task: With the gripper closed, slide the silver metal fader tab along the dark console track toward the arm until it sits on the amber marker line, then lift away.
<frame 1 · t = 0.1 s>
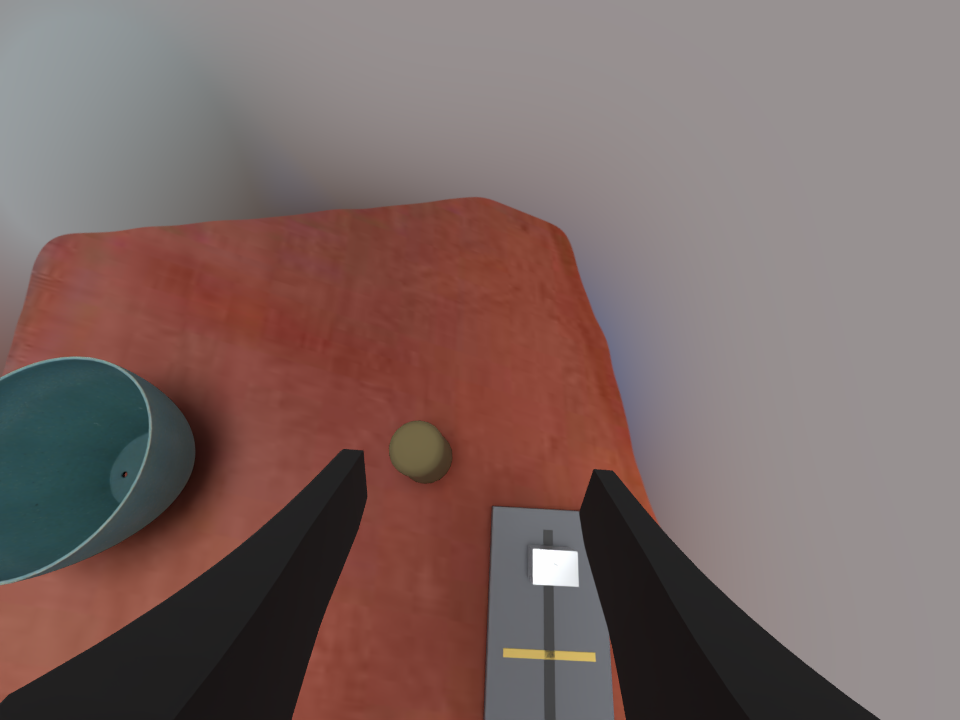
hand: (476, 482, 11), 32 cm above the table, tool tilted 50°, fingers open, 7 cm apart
teal bowl: (155, 467, 41), on the table
console: (544, 611, 37), on the table
fader: (552, 564, 35), point 4 cm above the table, slide at 0.0 cm
cork: (427, 456, 42), on the table
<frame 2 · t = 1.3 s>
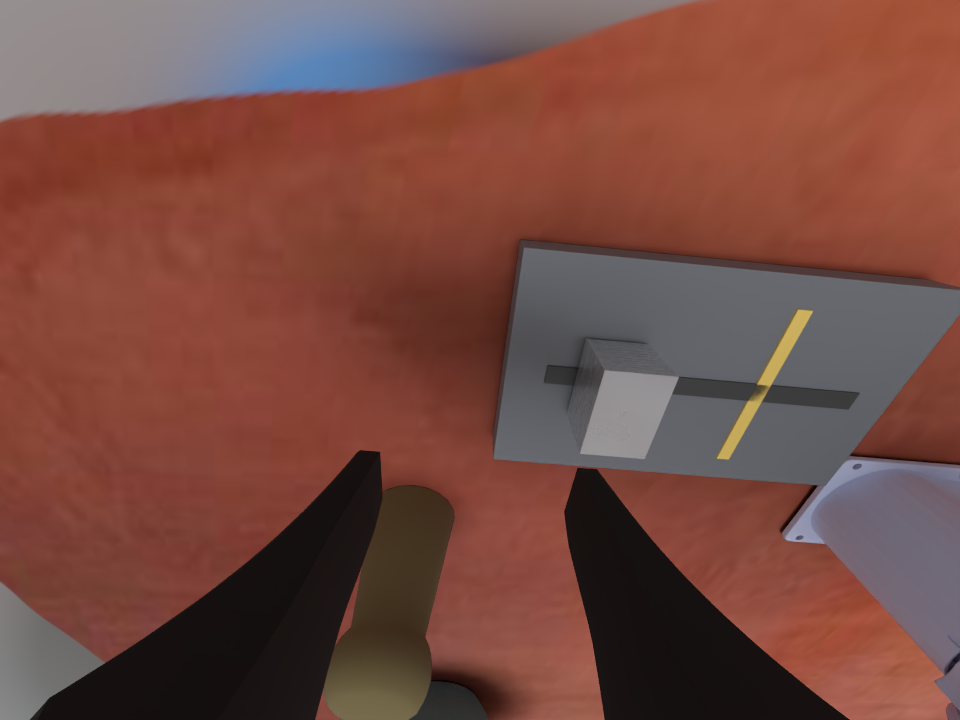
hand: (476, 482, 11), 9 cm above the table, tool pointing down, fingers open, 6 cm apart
teal bowl: (439, 694, 41), on the table
console: (681, 368, 20), on the table
fader: (614, 397, 16), point 4 cm above the table, slide at 0.0 cm
cork: (413, 512, 26), on the table
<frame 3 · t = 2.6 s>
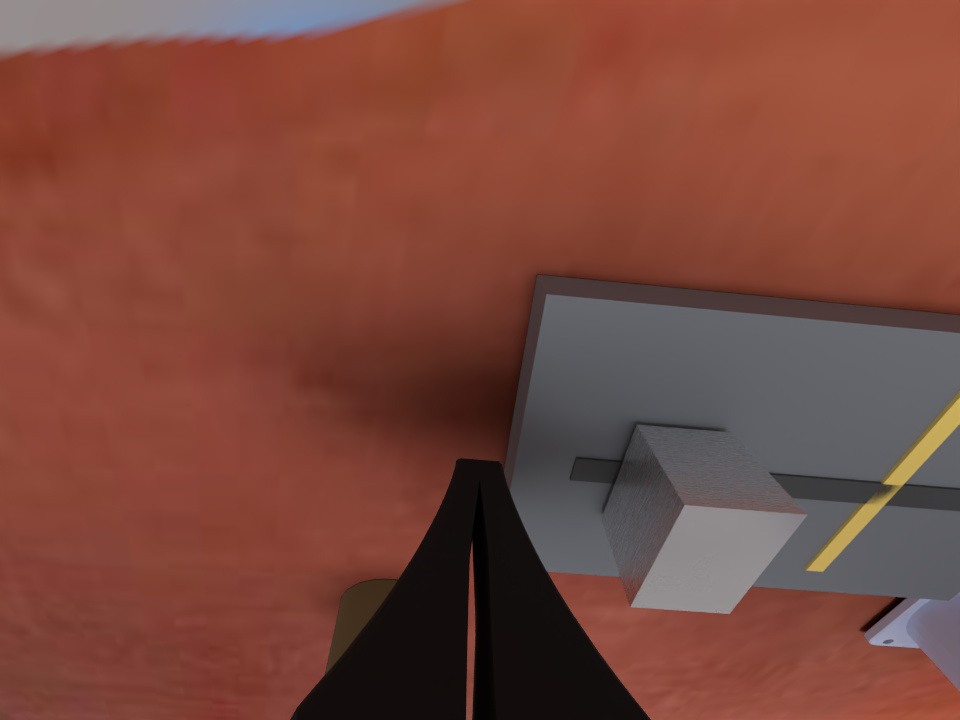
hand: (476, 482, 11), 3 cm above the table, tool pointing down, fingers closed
console: (759, 446, 14), on the table
fader: (682, 517, 11), point 4 cm above the table, slide at 0.0 cm
cork: (393, 606, 21), on the table
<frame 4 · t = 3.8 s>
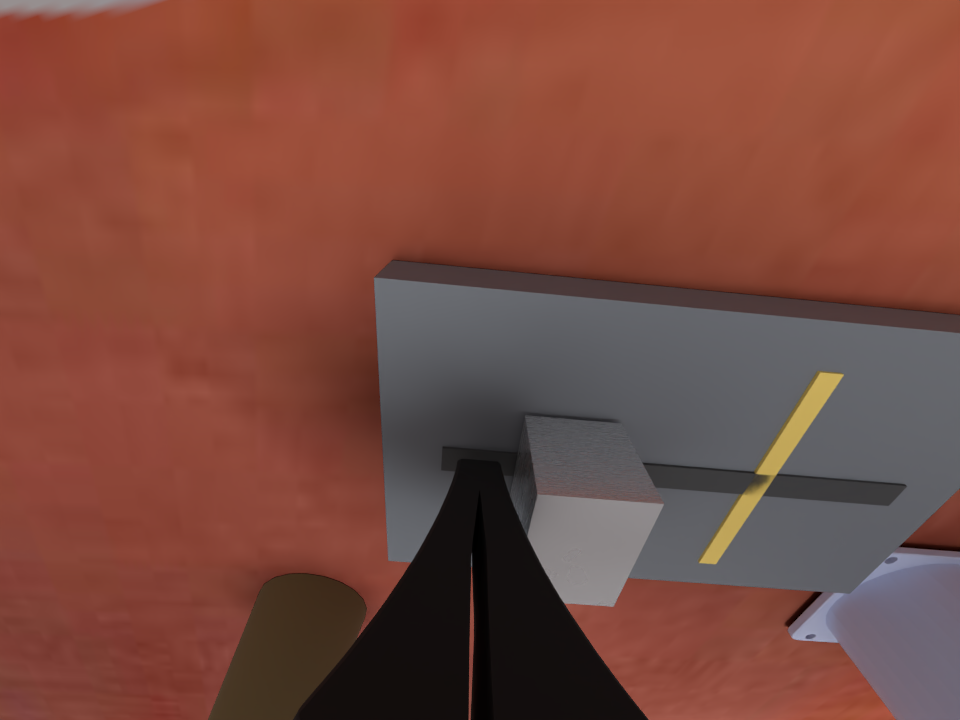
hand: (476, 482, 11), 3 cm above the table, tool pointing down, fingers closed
console: (649, 437, 14), on the table
fader: (568, 508, 11), point 4 cm above the table, slide at 1.0 cm, touching gripper
cork: (315, 601, 20), on the table
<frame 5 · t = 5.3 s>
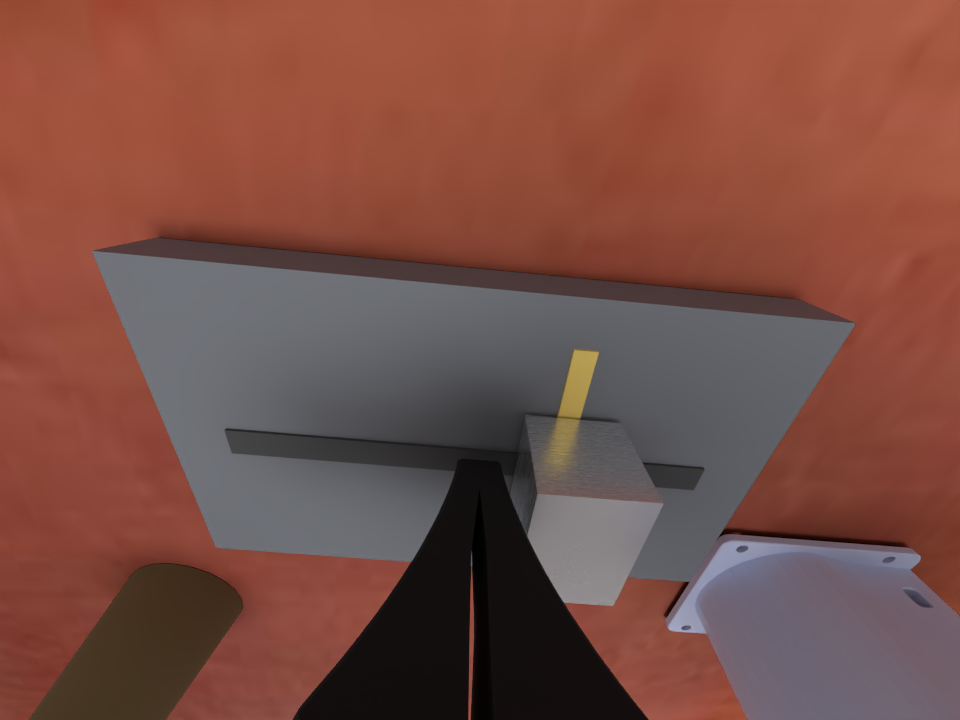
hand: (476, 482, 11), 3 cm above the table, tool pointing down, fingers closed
console: (470, 422, 14), on the table
fader: (568, 508, 11), point 4 cm above the table, slide at 8.1 cm, touching gripper
cork: (190, 592, 20), on the table
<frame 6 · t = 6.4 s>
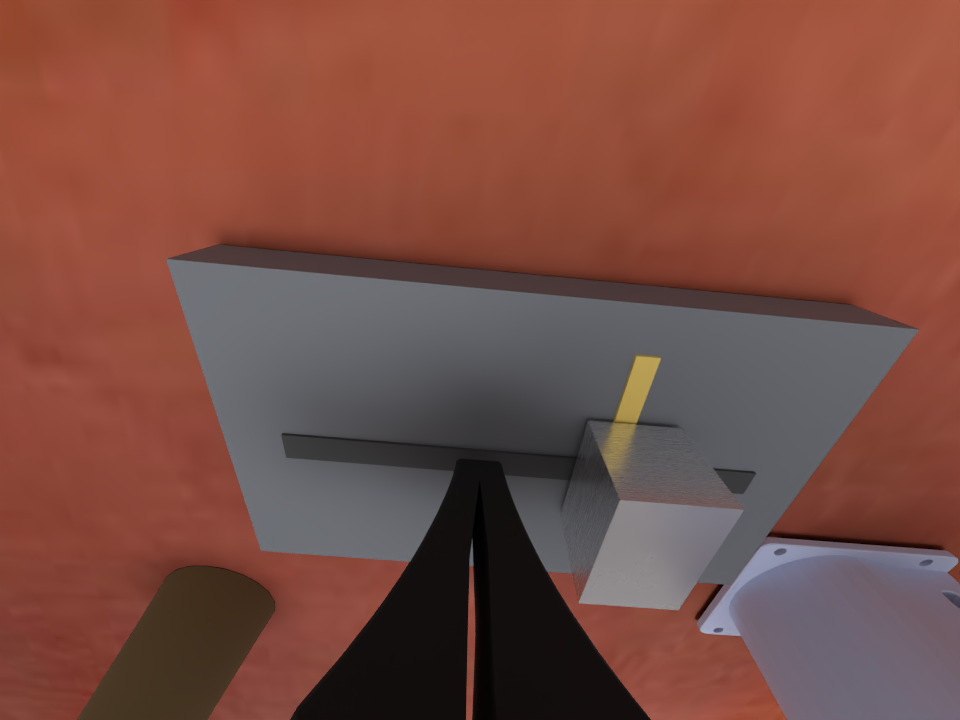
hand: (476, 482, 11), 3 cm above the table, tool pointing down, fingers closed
console: (516, 426, 14), on the table
fader: (632, 513, 11), point 4 cm above the table, slide at 8.3 cm
cork: (223, 594, 20), on the table
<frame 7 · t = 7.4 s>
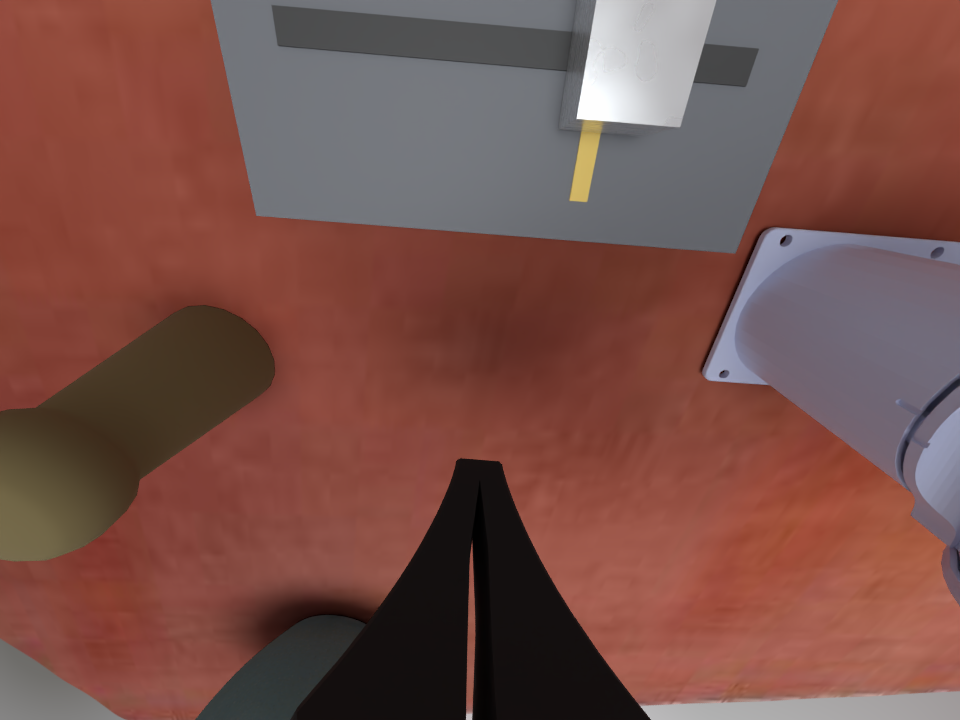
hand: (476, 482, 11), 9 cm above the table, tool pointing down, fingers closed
teal bowl: (338, 634, 35), on the table
console: (512, 63, 14), on the table
fader: (630, 39, 10), point 4 cm above the table, slide at 8.3 cm
cork: (222, 354, 20), on the table
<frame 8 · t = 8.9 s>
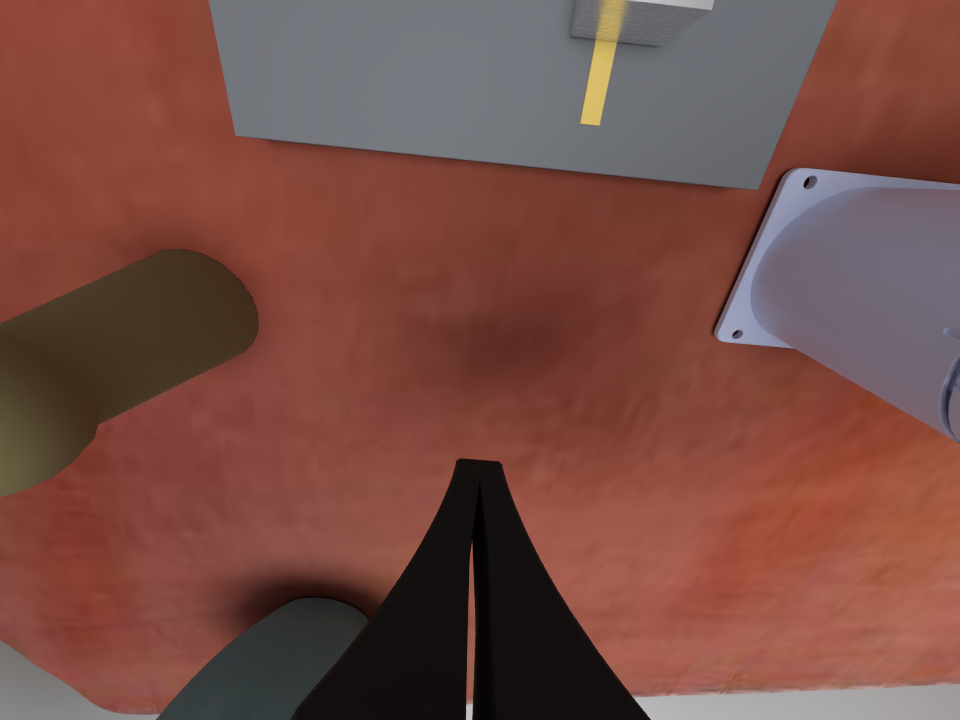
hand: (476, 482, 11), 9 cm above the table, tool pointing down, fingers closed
teal bowl: (326, 618, 33), on the table
cork: (202, 306, 19), on the table
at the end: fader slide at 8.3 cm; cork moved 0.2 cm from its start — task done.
